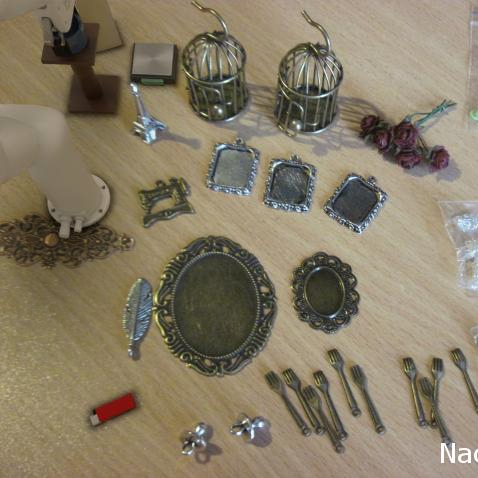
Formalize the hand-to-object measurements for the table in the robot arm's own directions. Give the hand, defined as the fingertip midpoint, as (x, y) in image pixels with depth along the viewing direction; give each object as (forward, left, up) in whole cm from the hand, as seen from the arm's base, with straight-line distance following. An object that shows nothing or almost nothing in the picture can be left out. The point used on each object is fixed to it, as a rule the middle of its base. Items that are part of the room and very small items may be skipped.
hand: (67, 35), depth 110 cm
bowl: (0, 0, -2) cm, 2 cm away
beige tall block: (+17, 0, -20) cm, 26 cm away
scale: (+9, -13, -20) cm, 25 cm away
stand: (0, 0, -20) cm, 20 cm away
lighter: (-70, -11, -20) cm, 74 cm away
